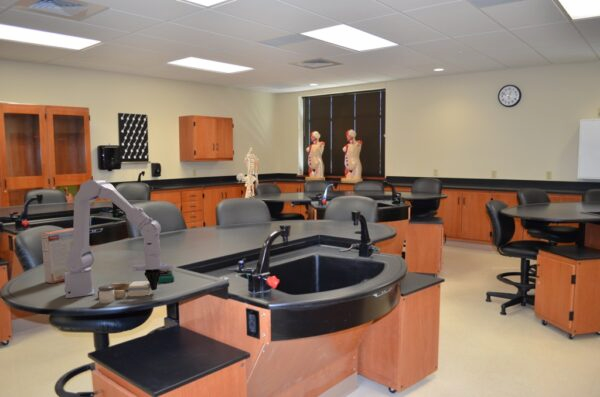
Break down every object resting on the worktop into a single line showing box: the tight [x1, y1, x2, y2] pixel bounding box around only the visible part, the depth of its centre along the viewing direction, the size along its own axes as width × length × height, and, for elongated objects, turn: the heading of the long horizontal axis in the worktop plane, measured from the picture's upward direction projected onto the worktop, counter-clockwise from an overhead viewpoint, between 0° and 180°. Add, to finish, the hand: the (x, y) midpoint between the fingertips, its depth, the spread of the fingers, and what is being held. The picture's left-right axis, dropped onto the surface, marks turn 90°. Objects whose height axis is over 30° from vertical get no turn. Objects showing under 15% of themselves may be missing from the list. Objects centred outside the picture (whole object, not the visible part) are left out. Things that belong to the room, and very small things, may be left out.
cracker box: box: [40, 227, 74, 284], centre depth 197 cm, size 14×6×21 cm, turn 148°
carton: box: [128, 280, 154, 297], centre depth 174 cm, size 7×6×4 cm
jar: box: [98, 284, 116, 305], centre depth 165 cm, size 5×5×5 cm
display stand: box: [97, 282, 132, 299], centre depth 175 cm, size 10×11×2 cm
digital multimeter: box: [158, 270, 175, 284], centre depth 196 cm, size 7×15×3 cm, turn 19°
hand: (154, 289), depth 174 cm, fingers closed
